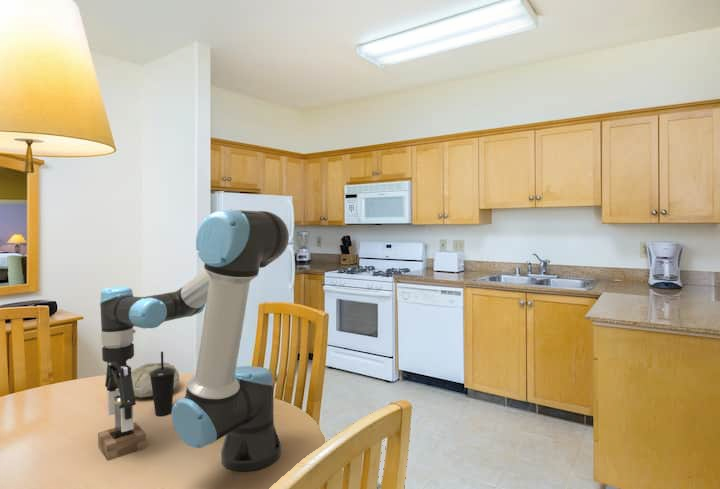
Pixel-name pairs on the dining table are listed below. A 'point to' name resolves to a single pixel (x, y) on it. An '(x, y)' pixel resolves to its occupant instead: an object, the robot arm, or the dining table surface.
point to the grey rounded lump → (148, 379)
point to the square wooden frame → (121, 442)
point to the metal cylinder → (118, 418)
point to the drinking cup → (162, 389)
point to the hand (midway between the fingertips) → (120, 421)
